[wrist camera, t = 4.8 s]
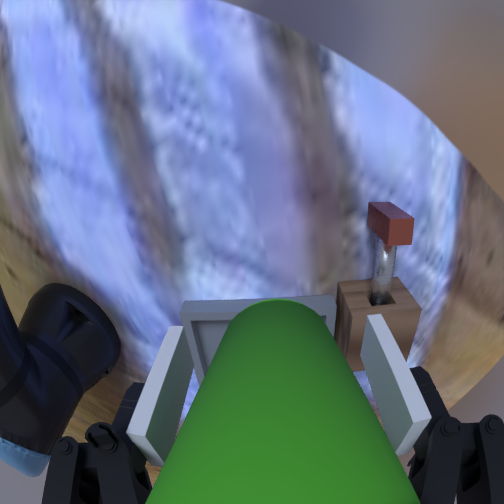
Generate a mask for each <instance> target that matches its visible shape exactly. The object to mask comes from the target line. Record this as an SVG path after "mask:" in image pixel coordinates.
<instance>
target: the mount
mask: <svg viewBox="0 0 504 504" xmlns="http://www.w3.org/2000/svg"><path fill="white" fill-rule="evenodd" d="M371 283H372V279H368V280H356V281H342V282H338V287H337V300H336V306H337V309H336V320H335V330H334V338H335V341H336V343H337V345H338V347H339V349H340V350H341V352H342V354H343V356H344V357H345V359H346V361H347V363H348V365H349V366H350V368H351V370H352V372H353V371H361V370H365V368H364V365H363V362H362V359H361V356H360V354H361V348H362V343H363V337H364V332H365V325H366V319H367V315H375V314H381V315H382V317H383V318H384V320H385V322H386V324H387V326H388V328H389V330H390V331H391V333H392V335H393V337H394V339H395V341H396V343H397V345H398V347H399V349H400V351H401V353H402V355H403V357H404V359H405V361H407V358H408V355H409V352H410V349H411V346H412V343H413V339H414V336H415V333H416V329H417V325H418V322H419V318H420V314H421V310H422V309H421V307H420V306H419V304H418V303H417V302H416V300H415V299H414V298H413V296H412V295H411V294H410V292H409V291H408V290H407V288H406V287H405V286H404V285H403V283H402V282H401V281H400V279H399V278H398V277H393V279H392V286H391V292H390V298H389V303H388V305H379V306H371V304H370V302H369V298H370V291H371Z"/></svg>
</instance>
